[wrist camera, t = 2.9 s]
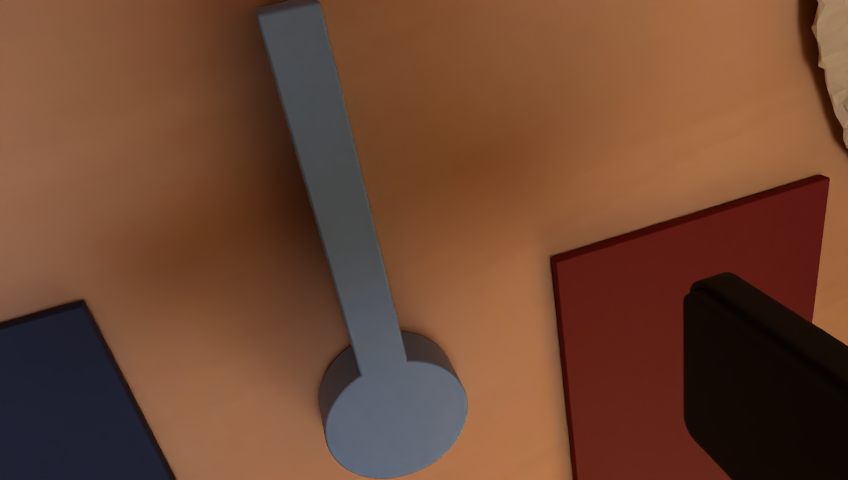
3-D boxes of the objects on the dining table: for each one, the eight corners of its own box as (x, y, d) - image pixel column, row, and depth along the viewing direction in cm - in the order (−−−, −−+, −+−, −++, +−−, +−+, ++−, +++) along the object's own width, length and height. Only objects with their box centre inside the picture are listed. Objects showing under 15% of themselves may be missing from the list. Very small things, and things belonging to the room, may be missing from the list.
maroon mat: (550, 257, 20) (556, 262, 20) (821, 173, 22) (830, 177, 21) (586, 605, 28) (590, 613, 28) (780, 526, 30) (786, 533, 30)
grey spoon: (188, 22, 15) (184, 31, 13) (372, -19, 15) (386, -15, 14) (337, 461, 21) (344, 497, 20) (462, 418, 22) (477, 451, 21)
